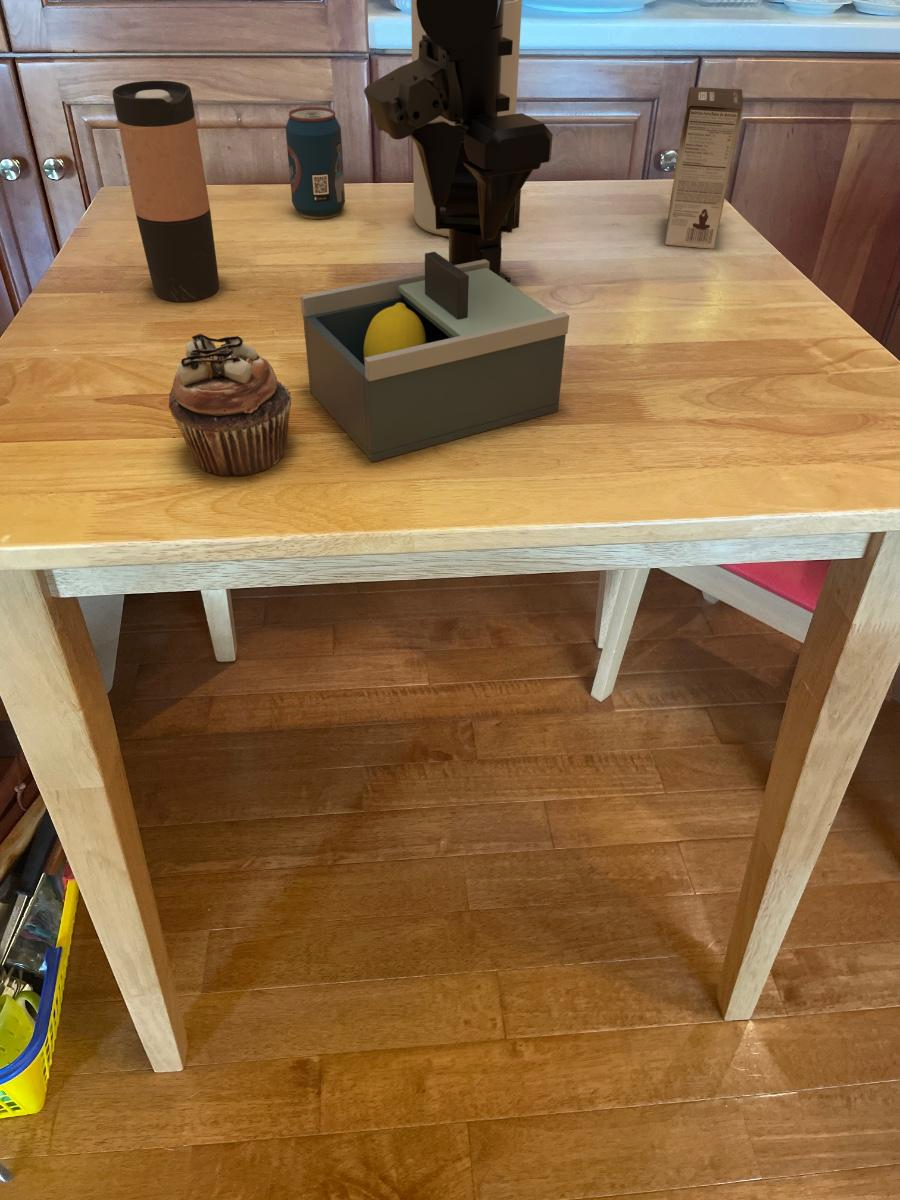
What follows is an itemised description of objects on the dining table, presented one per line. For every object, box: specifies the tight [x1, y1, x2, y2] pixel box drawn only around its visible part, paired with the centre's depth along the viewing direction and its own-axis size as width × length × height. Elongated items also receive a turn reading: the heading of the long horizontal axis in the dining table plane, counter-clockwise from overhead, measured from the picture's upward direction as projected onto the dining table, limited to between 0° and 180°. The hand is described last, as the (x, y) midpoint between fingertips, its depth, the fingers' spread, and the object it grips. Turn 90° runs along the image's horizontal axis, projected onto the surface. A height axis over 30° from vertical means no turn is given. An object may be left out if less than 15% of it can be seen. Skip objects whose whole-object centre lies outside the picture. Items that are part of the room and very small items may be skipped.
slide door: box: [399, 251, 555, 337], centre depth 80 cm, size 12×9×4 cm
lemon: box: [364, 303, 426, 362], centre depth 82 cm, size 6×6×8 cm
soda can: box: [285, 106, 346, 220], centre depth 119 cm, size 7×7×12 cm
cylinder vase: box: [410, 0, 523, 238], centre depth 112 cm, size 12×12×25 cm
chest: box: [299, 259, 570, 463], centre depth 82 cm, size 14×19×9 cm
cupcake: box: [168, 333, 292, 477], centre depth 75 cm, size 10×10×10 cm
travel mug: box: [112, 80, 220, 303], centre depth 97 cm, size 8×8×20 cm
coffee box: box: [664, 86, 744, 250], centre depth 113 cm, size 9×6×16 cm
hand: (462, 222), depth 84 cm, fingers open, 9 cm apart
